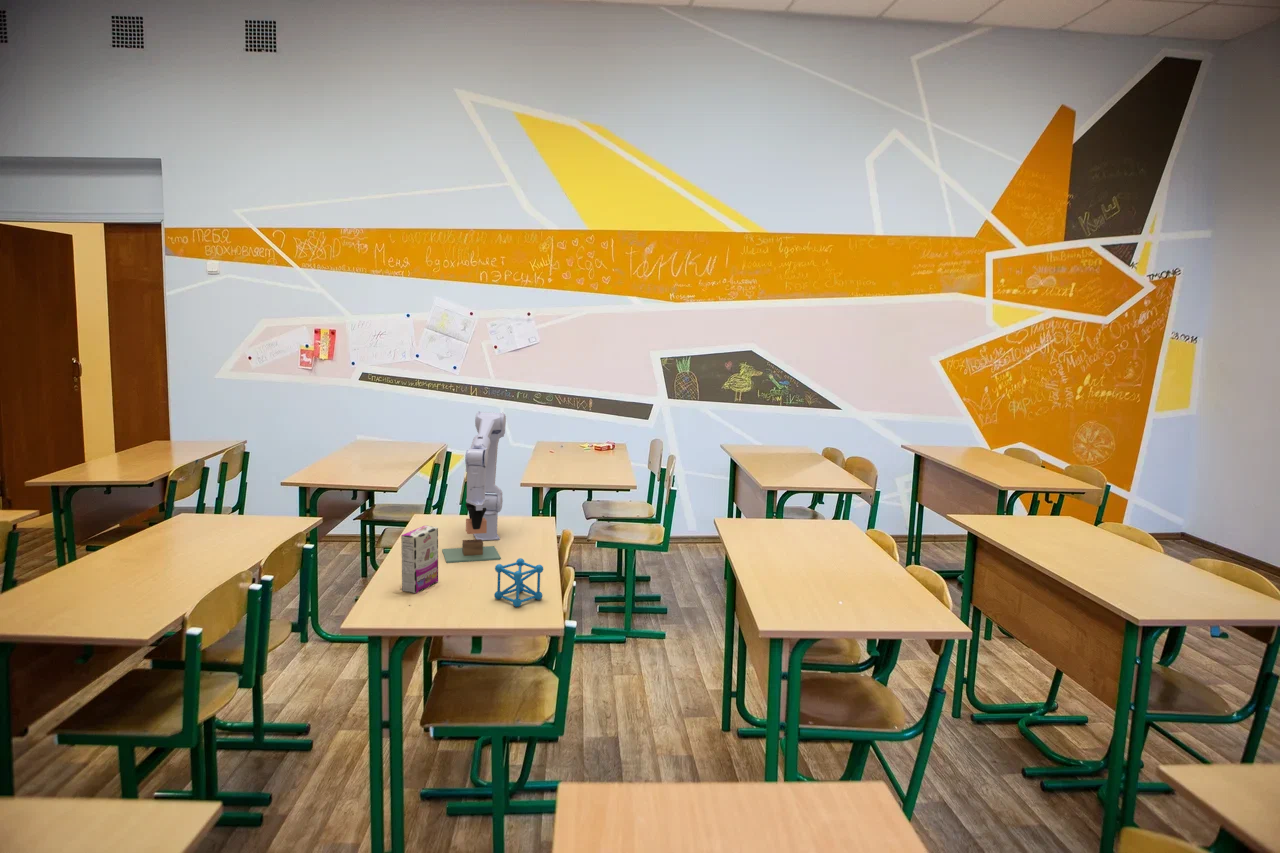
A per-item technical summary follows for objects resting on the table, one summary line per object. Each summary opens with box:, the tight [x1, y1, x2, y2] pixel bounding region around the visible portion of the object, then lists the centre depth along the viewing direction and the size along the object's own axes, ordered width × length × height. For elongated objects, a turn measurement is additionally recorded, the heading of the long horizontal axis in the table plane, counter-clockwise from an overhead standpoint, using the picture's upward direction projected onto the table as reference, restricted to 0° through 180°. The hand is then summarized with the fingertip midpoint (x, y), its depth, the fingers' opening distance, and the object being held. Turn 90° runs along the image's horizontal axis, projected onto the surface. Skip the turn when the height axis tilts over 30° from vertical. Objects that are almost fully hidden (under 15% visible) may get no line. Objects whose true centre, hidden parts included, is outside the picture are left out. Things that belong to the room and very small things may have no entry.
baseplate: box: [441, 545, 502, 564], centre depth 247 cm, size 13×17×1 cm
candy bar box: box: [400, 525, 439, 594], centre depth 215 cm, size 11×5×16 cm, turn 161°
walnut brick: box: [461, 538, 484, 556], centre depth 247 cm, size 4×6×4 cm, turn 110°
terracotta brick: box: [465, 518, 487, 535], centre depth 246 cm, size 4×6×4 cm, turn 111°
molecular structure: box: [493, 557, 544, 608], centre depth 210 cm, size 10×10×10 cm
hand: (475, 527), depth 246 cm, fingers closed on terracotta brick, 4 cm apart
